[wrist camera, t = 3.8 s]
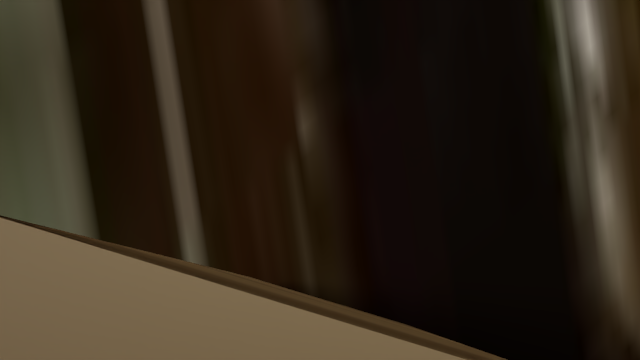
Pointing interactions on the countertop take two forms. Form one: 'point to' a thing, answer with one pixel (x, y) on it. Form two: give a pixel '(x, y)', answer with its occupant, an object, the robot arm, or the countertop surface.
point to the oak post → (176, 310)
